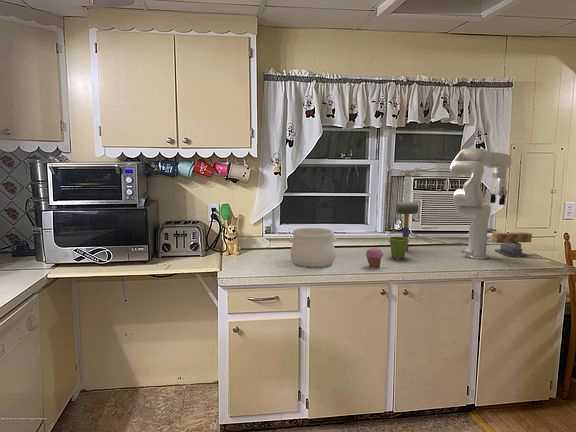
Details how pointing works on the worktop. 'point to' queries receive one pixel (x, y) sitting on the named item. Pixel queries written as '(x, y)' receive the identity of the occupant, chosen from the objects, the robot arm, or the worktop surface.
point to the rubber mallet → (406, 214)
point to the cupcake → (374, 256)
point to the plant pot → (398, 246)
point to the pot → (313, 247)
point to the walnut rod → (511, 237)
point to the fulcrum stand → (511, 250)
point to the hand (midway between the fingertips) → (497, 203)
